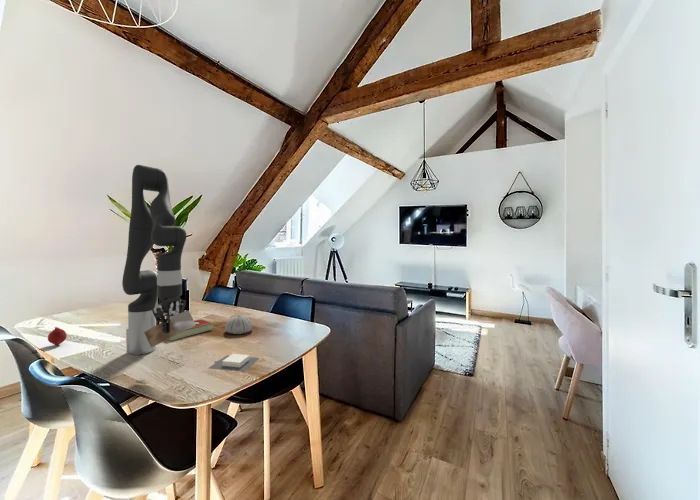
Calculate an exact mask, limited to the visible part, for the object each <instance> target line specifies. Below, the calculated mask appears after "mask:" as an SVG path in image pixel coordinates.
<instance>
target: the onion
mask: <svg viewBox="0 0 700 500" xmlns="http://www.w3.org/2000/svg"><path fill="white" fill-rule="evenodd" d="M67 335H68V334H67V332H66V330H64V329H62V328H60V327H58V326H55V327H54V329H53V330H51V331H50V333H48V335H47V341H48V342H49V343H50V344H52V345H54V346H59V345H61V344H62V343H63V342H65V341H66V339H67Z"/></svg>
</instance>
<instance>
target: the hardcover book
mask: <svg viewBox="0 0 700 500" xmlns="http://www.w3.org/2000/svg"><path fill="white" fill-rule="evenodd" d="M193 321H194V323H195V326H194V327H191V328H189V329H187V330H185V331H183V332H181V333H179V334H177V335H175V336H173V337H171V338H170V339H168V340H169V341H174V340H178V339H181V338H187V337H189V336H193V335H196V334H197V335H198V334H201V333H204V332H208V331H209V332H210V331H212V330H213V327H214V326H213V324H214V322H213V321H209V320H207V319H202V318H200V319H199V318H198V319H195V320H193Z"/></svg>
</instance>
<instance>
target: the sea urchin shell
mask: <svg viewBox="0 0 700 500" xmlns="http://www.w3.org/2000/svg"><path fill="white" fill-rule="evenodd" d="M253 324H254V323H253V322H252V320H251V319H250V318H249V317H247V316H246V315H242V314H241V315H235V316H233V317H231V318H229V320H227V322H226V323H225V326H224V329H225V332H227V334H233V335H242V334H246V333H249V332H251V330H252V329H253V327H254V325H253Z"/></svg>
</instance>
